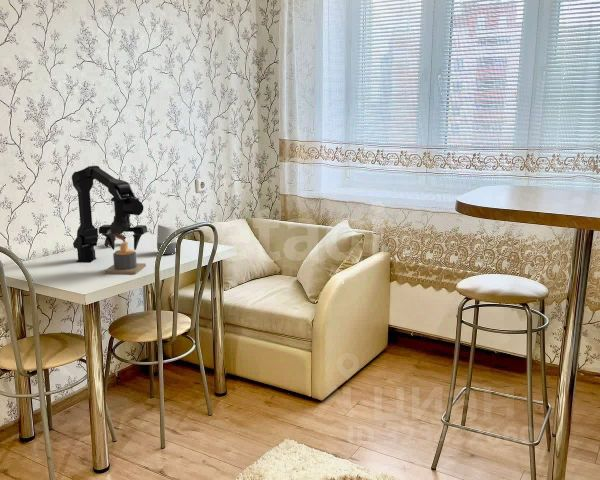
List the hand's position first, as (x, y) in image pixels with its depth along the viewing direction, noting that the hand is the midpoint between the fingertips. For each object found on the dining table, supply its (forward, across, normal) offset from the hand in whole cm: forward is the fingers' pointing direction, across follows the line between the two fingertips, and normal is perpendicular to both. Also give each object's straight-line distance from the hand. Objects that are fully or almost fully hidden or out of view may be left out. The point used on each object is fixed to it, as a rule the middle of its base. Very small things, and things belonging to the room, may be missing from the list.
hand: (124, 249), depth 247 cm
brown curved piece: (+9, -22, +43) cm, 49 cm away
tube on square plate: (+9, 0, 0) cm, 9 cm away
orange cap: (+4, 0, 0) cm, 4 cm away
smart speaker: (+9, +9, +30) cm, 33 cm away
